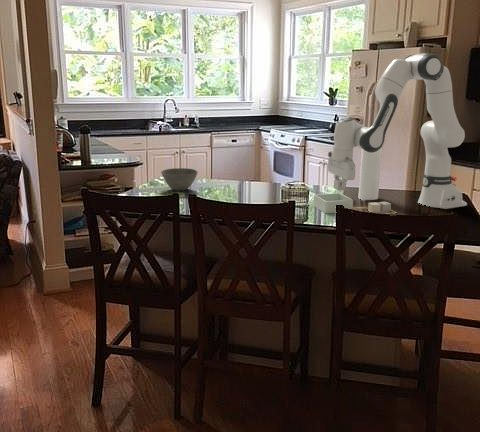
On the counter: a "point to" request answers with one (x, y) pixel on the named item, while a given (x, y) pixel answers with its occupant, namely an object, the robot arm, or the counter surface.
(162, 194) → the counter surface
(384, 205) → the stone
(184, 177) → the bowl
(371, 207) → the stone
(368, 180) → the cylinder container
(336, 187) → the stone
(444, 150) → the robot arm
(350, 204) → the tub
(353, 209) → the gravel tray
